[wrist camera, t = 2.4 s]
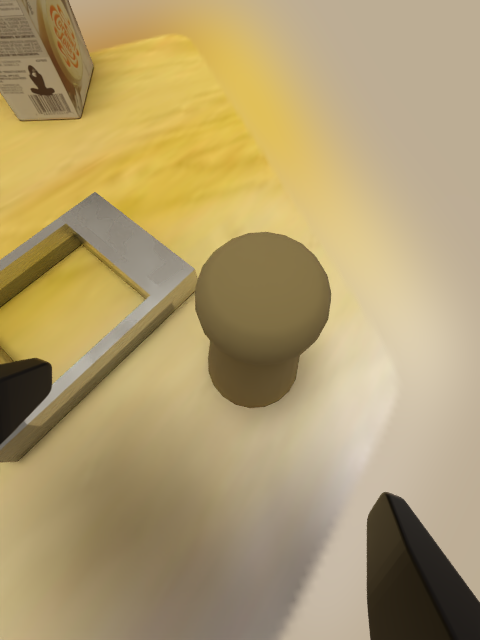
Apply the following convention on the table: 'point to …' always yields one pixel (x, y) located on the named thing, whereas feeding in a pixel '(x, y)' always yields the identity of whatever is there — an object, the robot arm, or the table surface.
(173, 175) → the table surface
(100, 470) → the table surface
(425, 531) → the robot arm
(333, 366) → the table surface
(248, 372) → the cork
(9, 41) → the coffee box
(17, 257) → the silver metal frame
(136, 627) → the table surface
